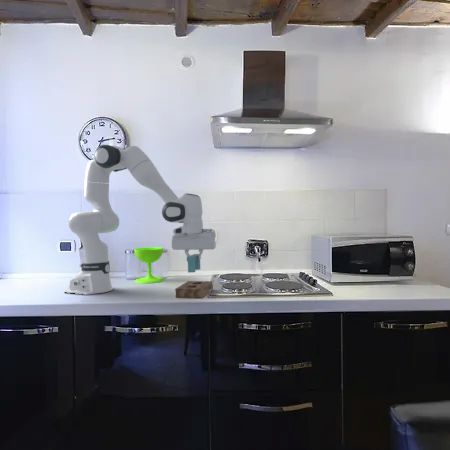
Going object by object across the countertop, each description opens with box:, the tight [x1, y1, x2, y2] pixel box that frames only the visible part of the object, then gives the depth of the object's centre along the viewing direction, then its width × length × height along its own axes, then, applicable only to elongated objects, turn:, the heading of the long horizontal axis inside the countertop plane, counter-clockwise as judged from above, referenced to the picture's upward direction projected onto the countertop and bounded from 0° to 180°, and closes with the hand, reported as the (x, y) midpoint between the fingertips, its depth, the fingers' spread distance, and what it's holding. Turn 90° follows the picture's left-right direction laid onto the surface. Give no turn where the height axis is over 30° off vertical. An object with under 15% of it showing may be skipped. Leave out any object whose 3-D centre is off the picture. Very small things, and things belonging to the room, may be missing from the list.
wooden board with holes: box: [174, 280, 213, 299], centre depth 162 cm, size 12×18×4 cm, turn 168°
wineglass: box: [133, 246, 165, 285], centre depth 198 cm, size 16×16×18 cm
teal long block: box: [186, 253, 201, 273], centre depth 162 cm, size 3×12×7 cm, turn 168°
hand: (194, 259), depth 162 cm, fingers closed on teal long block, 3 cm apart
